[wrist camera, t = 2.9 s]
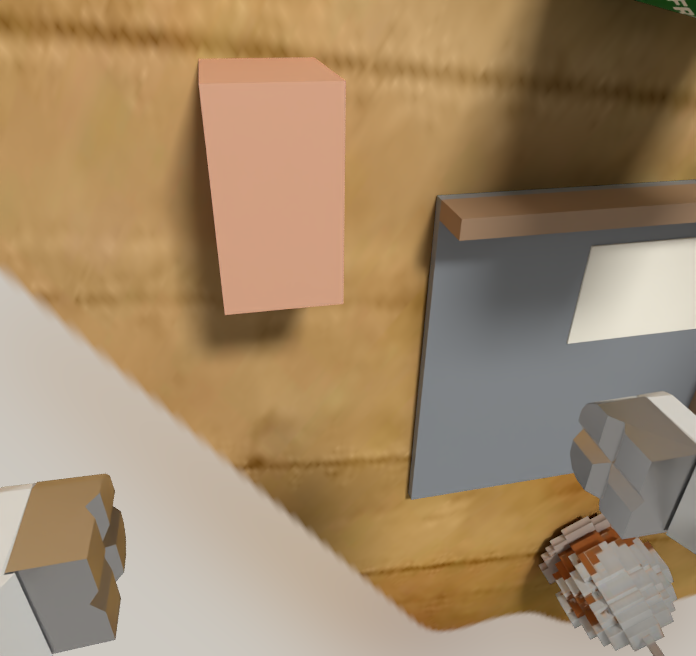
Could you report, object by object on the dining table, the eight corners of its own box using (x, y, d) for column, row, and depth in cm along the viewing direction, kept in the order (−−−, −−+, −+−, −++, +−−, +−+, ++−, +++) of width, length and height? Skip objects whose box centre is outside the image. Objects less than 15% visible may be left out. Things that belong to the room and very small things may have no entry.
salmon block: (198, 58, 22) (198, 83, 17) (314, 57, 23) (345, 81, 18) (219, 250, 26) (224, 315, 21) (316, 242, 27) (343, 303, 22)
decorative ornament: (524, 541, 44) (654, 770, 31) (616, 492, 43) (788, 706, 30) (552, 587, 48) (676, 804, 35) (637, 543, 47) (794, 748, 35)
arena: (437, 195, 27) (462, 219, 25) (789, 173, 31) (843, 192, 28) (408, 492, 38) (423, 531, 35) (674, 449, 41) (705, 480, 39)
